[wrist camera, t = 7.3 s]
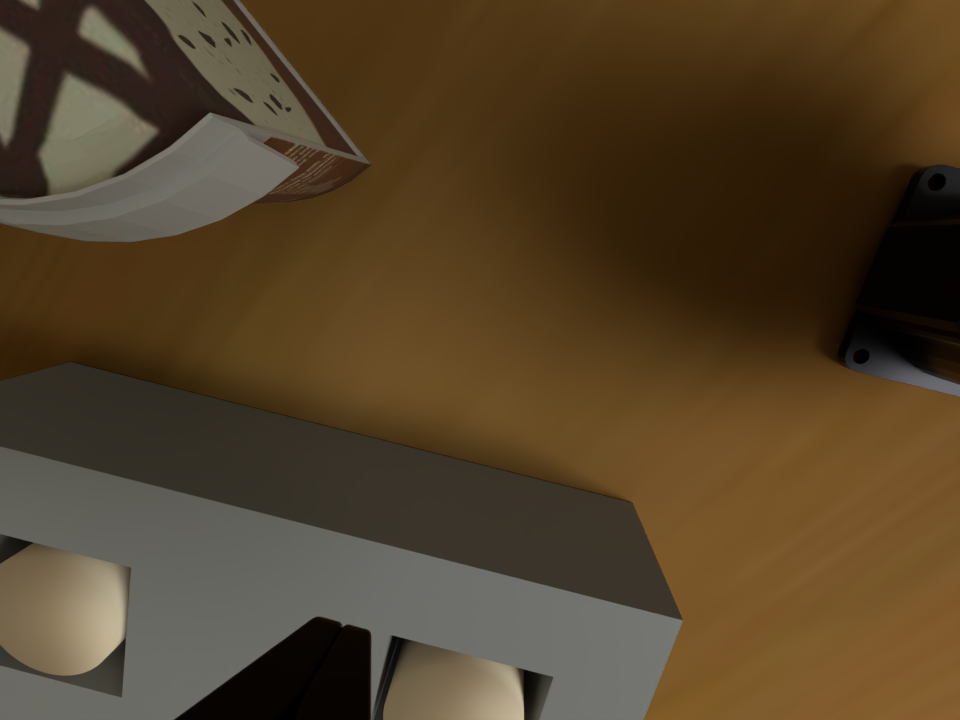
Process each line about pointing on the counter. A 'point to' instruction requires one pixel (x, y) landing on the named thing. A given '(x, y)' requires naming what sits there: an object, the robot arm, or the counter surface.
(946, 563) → the counter surface
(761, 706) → the counter surface
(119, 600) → the birch peg
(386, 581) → the grey peg board
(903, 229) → the robot arm
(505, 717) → the birch peg
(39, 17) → the food container
